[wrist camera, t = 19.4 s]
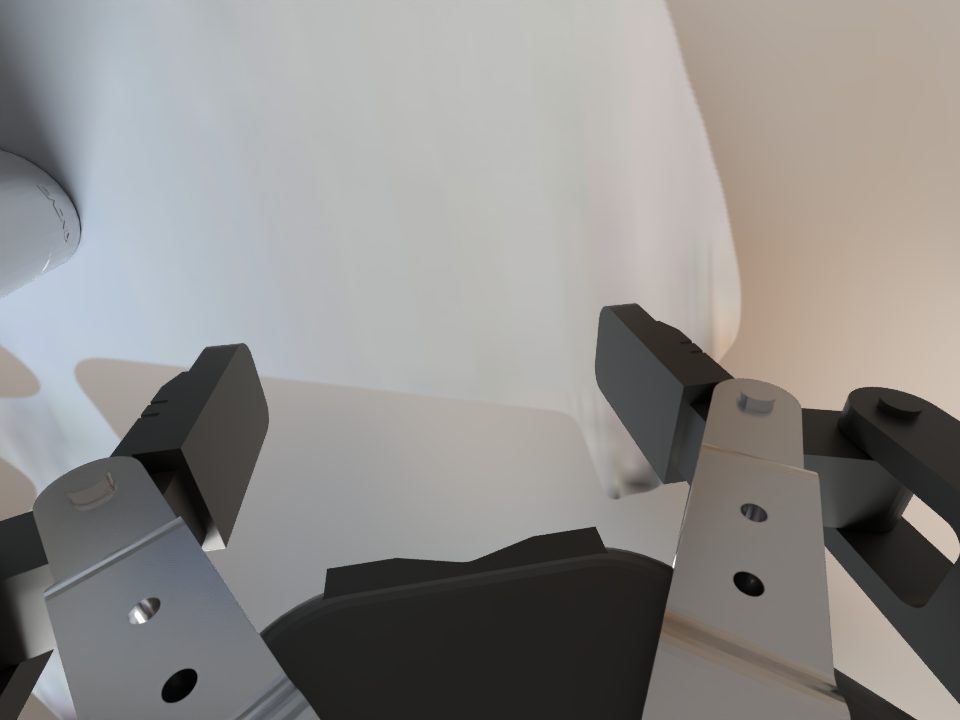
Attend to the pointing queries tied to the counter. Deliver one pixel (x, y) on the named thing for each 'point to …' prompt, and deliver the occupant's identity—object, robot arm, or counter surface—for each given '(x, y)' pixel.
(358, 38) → the counter surface
